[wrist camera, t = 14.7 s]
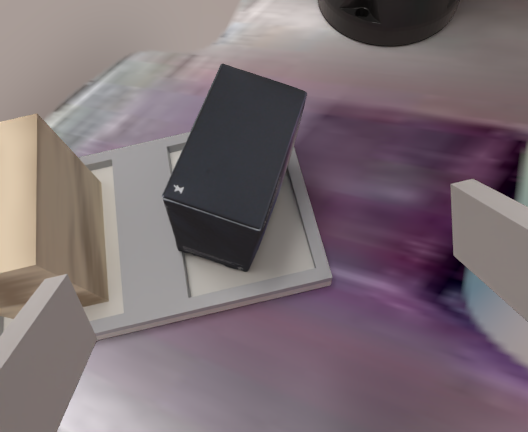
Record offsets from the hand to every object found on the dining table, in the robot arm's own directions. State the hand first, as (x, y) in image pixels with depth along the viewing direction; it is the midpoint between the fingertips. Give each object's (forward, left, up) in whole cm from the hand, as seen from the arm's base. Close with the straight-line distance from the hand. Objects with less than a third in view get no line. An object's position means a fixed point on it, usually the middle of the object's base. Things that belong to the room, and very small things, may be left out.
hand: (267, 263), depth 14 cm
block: (+16, -11, -18) cm, 27 cm away
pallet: (+9, -11, -20) cm, 24 cm away
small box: (+2, -11, -18) cm, 21 cm away
